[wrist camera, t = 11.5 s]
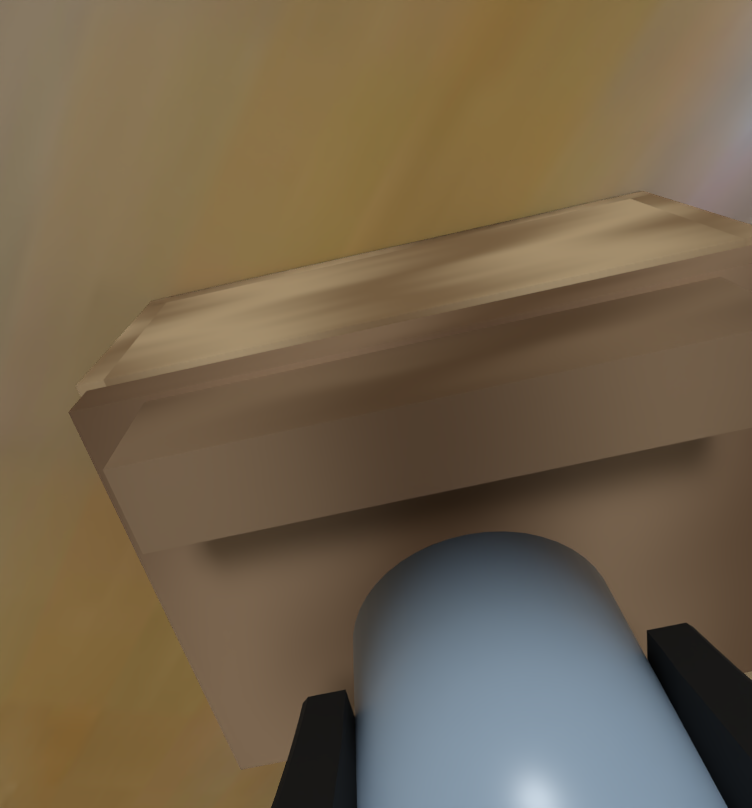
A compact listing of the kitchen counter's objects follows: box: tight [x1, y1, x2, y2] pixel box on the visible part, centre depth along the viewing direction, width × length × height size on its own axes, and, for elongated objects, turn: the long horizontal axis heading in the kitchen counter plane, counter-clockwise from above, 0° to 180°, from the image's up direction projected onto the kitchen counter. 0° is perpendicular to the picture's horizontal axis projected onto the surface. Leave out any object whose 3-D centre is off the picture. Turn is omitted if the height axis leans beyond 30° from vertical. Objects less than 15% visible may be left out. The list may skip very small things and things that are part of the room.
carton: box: [76, 191, 752, 397], centre depth 15 cm, size 12×9×5 cm
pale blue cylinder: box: [353, 531, 728, 808], centre depth 9 cm, size 5×5×5 cm
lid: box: [69, 245, 752, 770], centre depth 11 cm, size 11×9×3 cm
